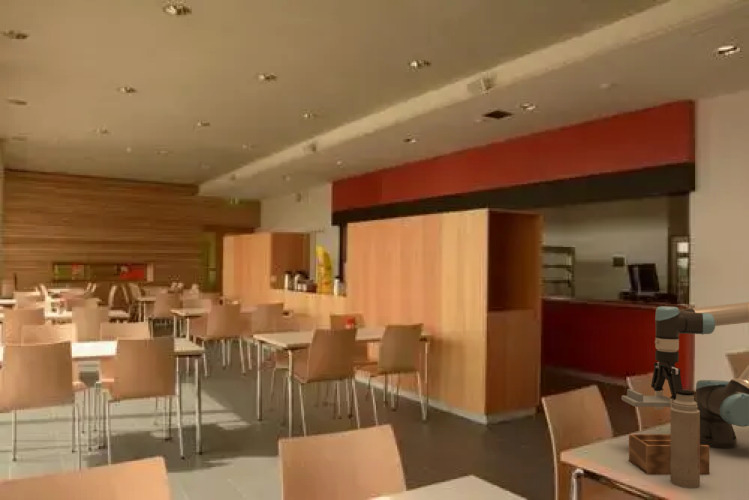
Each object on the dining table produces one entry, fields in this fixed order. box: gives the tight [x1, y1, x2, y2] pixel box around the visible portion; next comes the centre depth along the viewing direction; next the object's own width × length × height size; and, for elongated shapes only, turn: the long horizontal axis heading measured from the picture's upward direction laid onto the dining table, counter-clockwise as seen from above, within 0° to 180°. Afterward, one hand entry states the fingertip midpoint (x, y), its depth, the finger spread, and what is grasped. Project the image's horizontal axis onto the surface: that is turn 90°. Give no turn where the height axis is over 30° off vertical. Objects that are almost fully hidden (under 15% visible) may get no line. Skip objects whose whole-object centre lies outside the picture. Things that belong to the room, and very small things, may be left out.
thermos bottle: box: [669, 389, 701, 489], centre depth 186 cm, size 8×8×28 cm
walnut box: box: [628, 433, 710, 476], centre depth 200 cm, size 20×13×9 cm, turn 92°
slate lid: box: [621, 388, 670, 408], centre depth 216 cm, size 16×10×4 cm, turn 92°
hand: (666, 413), depth 216 cm, fingers closed on slate lid, 10 cm apart
